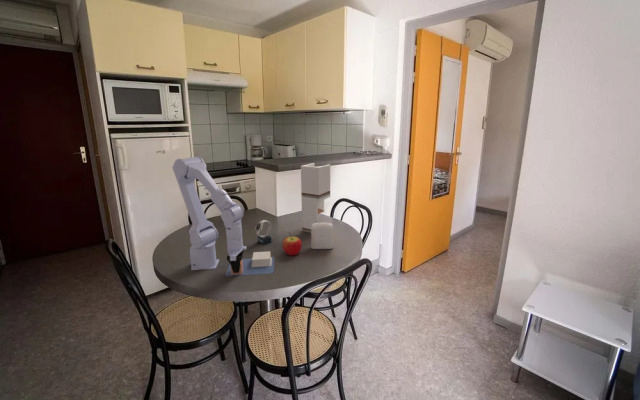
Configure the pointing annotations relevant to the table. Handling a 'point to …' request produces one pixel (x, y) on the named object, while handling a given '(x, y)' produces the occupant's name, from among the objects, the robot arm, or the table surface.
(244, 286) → the table surface
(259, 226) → the watch
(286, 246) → the apple
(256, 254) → the base block
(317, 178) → the tall white column
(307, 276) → the table surface
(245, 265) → the blueprint board
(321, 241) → the photo printer
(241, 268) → the terracotta block
